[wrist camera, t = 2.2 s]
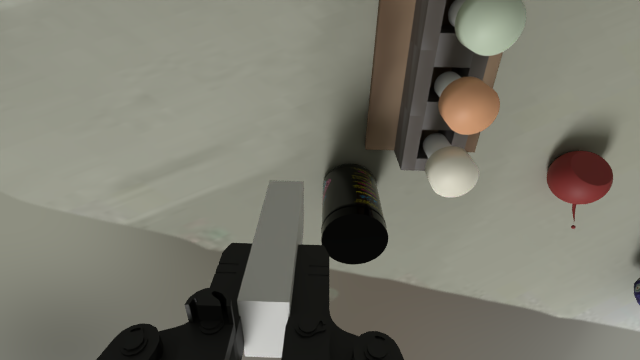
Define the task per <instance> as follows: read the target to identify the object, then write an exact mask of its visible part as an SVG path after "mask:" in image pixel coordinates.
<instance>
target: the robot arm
mask: <svg viewBox="0 0 640 360" xmlns="http://www.w3.org/2000/svg"><path fill="white" fill-rule="evenodd" d="M303 223H304V182H302V181H273V180H270V181H269V185H268V189H267V192H266V196H265V200H264V203H263V207H262V211H261V214H260V218H259V222H258V225H257V229H256V233H255V236H254V240H253V244H248V243H231V244H230V245H229V246H228V247H227V248H226V249H225V250H224V251H223V253H222V256H221V259H220V261H219V265H218V267H217V269H216V274H215V275H214V278H213V280H212V283H211V286H210V288H205V289H203V290H200V291H198V292H196V293H195V294H194V295H192V296H191V297H190V298H189V299H188V300H187V302H186V303H185V308H186V312H187V316H188V320H189V322H187V323H186V324H184V325H181V326H178V327H175V328H171V329H167V330H163V331H159V332H158V330H157V328H156V327H154V326H152V325H150V324H138V325H133V326H131V327H129V328H127V329H125V330H123V331H122V332H121V333H120V334H119V335H117V336H116V337H115V338H114V339H113V341H112V342H111V343H110V344H109V345H108V347H107V348H106V349H105V350H104V351H103V352H102V354H101V355H100V356H99V357H98V358H97V360H241V359H242V355H243V350H244V353H245V356H249V357H276V358H282V359H281V360H404V359H403V356H402V354H401V352H400V349H399V347H398V346H397V344H396V343H395V341H394V340H393V339H391V338H390V337H389V336H388V335H386V334H384V333H381V332H378V331H369V332H366V333H364V334H361V335H360V336H356V335H353V334H351V333H348V332H346V331H344V330H342V329H340V328H339V327H338V326H336V324H335V323H334V322H333V321H332V319H331V316H330V312H329V254H328V252H327V250H326V248H325V247H324V245H302V239H303Z"/></svg>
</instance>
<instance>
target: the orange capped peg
mask: <svg viewBox="0 0 640 360" xmlns="http://www.w3.org/2000/svg"><path fill="white" fill-rule="evenodd" d="M434 90H435V92H436V94H437V95H438V96H439V97H440V98H439V103H438V108H439V112H440V115H441V116H442V118H443V119H444V120H445V122H446V123H447V125H448V126H449V127H450V128H451V129H452V130H453V131H454V132H456V133H459V134H463V135H470V134H475V133H478V132H480V131H482V130H484V129H486V128H487V127H488V126H489V125H490V124H491V123H492V122H493V121H494V120H495V118H496V116H497V115H498V112H499V108H500V101H499V97H498V95H497V93H496V92H495V91H494V90H493V89H492V88H491V87H490V86H488V85H487V84H486V83H484V82H483V81H482V80H480V79H478V78H476V77H462V78H461V77H460V76H459V75H458V74H457V73H455V72H452V71H448V72H444V73H442V74H441V75H439V76H438V78H437V79H436V81H435V83H434Z"/></svg>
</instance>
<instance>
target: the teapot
mask: <svg viewBox="0 0 640 360" xmlns="http://www.w3.org/2000/svg"><path fill="white" fill-rule="evenodd" d="M634 295H635V298H636V300H637V302H638V304H639V305H640V278H639V279H638V280H637V281H636V282H635V283H634Z"/></svg>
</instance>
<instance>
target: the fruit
mask: <svg viewBox="0 0 640 360" xmlns="http://www.w3.org/2000/svg"><path fill="white" fill-rule="evenodd" d="M612 182H613V173H612V169H611V167H610V165H609V164H608V163H607V162H606V161H605V160H604V159H603V158H602V157H600V156H599V155H597V154H595V153H592V152H587V151H573V152H569V153H566V154H563V155H561V156H560V157H558V158H557V159H556V160H555V161H554V162H553V163H552V164H551V165H550V167H549V169H548V172H547V183H548V186H549V188H550V190H551V191H552V193H553V194H554V195H555V196H557V197H558V198H559V199H561V200H563V201H565V202H568V203H572V204H573V205H572V211H573V218H574V220H575V208H576V204H588V203H592V202H594V201H597V200H599V199H600V198H602V197H603V196H604V195H605V194H606V193H607V192H608V191H609V189H610V188H611V185H612ZM571 228H572V229H575V226H574V225H572V226H571Z"/></svg>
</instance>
